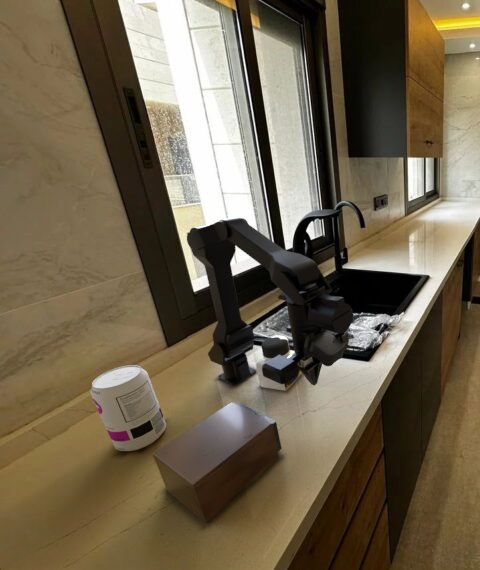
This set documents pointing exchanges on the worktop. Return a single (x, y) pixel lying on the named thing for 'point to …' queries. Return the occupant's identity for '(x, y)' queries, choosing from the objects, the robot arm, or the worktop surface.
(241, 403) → the drawer
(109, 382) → the supplement can
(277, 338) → the medicine bottle
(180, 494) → the cabinet
